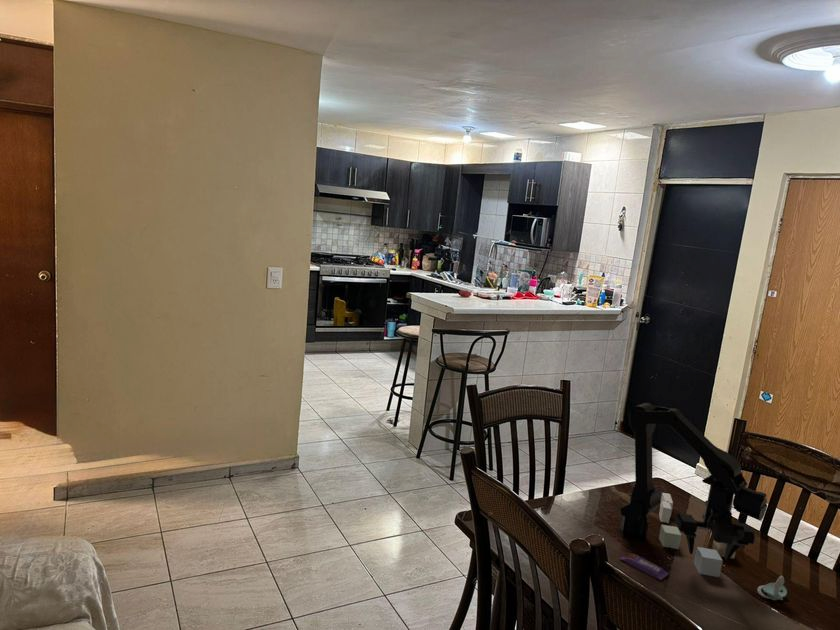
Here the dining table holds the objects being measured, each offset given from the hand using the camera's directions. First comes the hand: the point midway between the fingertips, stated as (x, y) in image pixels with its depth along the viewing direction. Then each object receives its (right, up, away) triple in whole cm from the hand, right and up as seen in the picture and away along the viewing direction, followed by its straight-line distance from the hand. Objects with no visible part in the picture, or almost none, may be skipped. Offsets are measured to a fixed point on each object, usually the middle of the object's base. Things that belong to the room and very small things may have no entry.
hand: (708, 556), depth 156 cm
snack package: (-18, -3, -1) cm, 18 cm away
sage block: (-5, -1, +12) cm, 14 cm away
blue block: (0, -4, +1) cm, 4 cm away
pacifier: (+12, -7, -8) cm, 16 cm away
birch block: (+9, -3, +10) cm, 14 cm away
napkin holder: (0, 0, +30) cm, 30 cm away
